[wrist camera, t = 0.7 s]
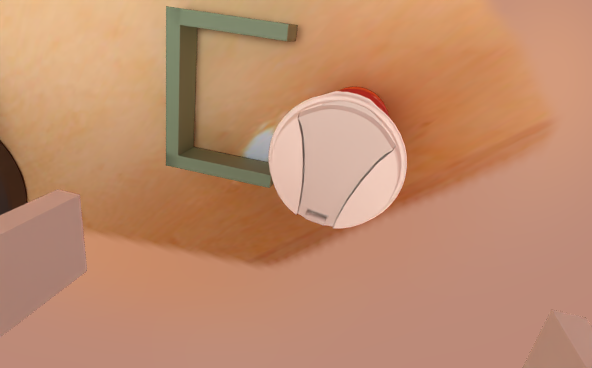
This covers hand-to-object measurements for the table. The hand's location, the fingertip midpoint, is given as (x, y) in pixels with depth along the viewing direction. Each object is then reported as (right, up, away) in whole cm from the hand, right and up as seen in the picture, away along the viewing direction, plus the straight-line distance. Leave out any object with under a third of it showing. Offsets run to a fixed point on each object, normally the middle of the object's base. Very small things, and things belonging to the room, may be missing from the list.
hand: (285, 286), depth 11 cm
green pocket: (-5, +11, +24) cm, 27 cm away
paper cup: (+5, +9, +22) cm, 24 cm away
